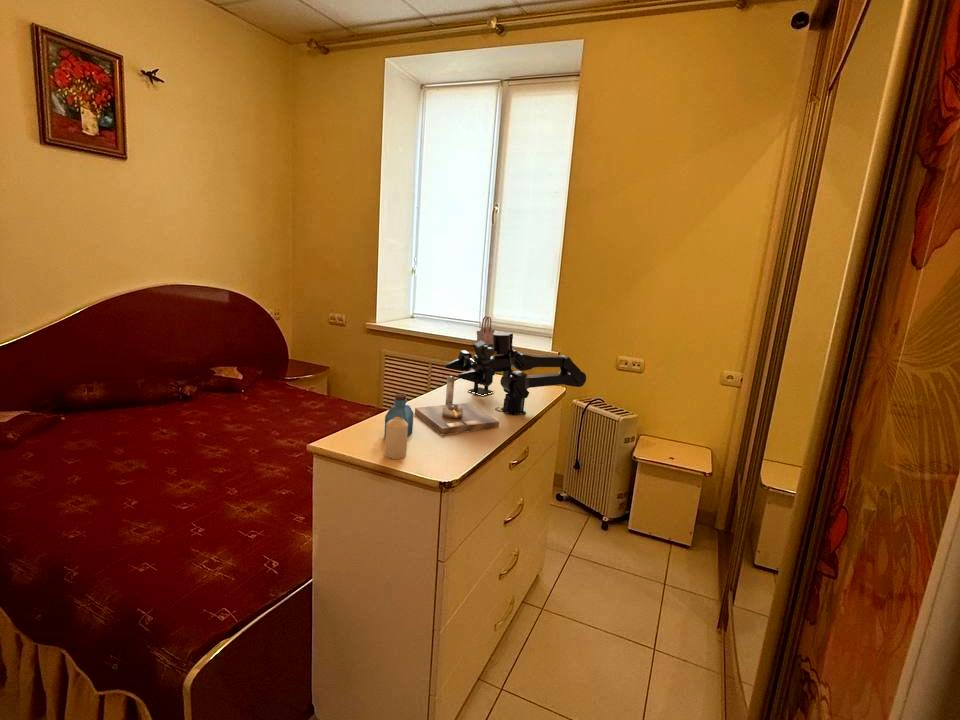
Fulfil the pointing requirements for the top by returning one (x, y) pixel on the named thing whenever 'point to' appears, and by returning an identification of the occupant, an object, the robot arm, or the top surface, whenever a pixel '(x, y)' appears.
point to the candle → (396, 438)
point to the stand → (456, 419)
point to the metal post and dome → (451, 401)
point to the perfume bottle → (400, 412)
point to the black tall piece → (487, 337)
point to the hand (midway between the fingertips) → (451, 371)
